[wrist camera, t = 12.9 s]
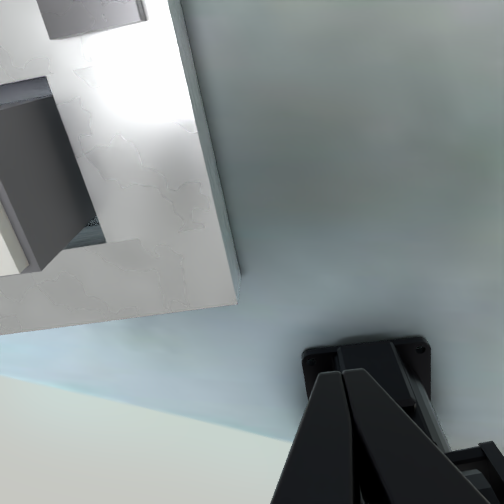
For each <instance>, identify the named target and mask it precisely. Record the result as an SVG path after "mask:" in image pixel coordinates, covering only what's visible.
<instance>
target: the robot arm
mask: <svg viewBox="0 0 504 504" xmlns="http://www.w3.org/2000/svg"><path fill="white" fill-rule="evenodd" d="M418 346H422V347H421V348H419V349H416V348H417V347H418ZM310 358H314V360H312V361H309V360H308V359H310ZM301 359H302V367H303V373H304V379H305V385H306V391H307V397H308V403H307V406H306V409H305V411H304V414H303V417H302V419H301V422H300V425H299V427H298V430H297V433H296V436H295V438H294V441H293V444H292V446H291V449H290V452H289V454H288V458H287V460H286V463H285V465H284V468H283V471H282V473H281V476H280V479H279V482H278V484H277V487H276V489H275V492H274V495H273V498H272V500H271V503H270V504H504V456H503V455H502V453H501V452H500V451H499V449H498V448H497V446H496V445H495V444H494V442H493V441H489V442H484V443H479V444H478V445H479V446H477V447H472V448H467V449H461V450H456V451H451V449H450V446H449V444H448V442H447V439H446V437H445V435H444V432H443V430H442V428H441V425H440V423H439V421H438V419H437V416H436V414H435V412H434V409H433V407H432V405H431V348H430V345H429V343H428V341H427V340H426V339H425V338H423V337H413V338H405V339H396V340H387V341H379V342H370V343H362V344H353V345H344V346H336V347H327V348H318V349H310V350H306V351H305V352H303V354H302V357H301Z"/></svg>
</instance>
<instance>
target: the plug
mask: <svg viewBox="0 0 504 504" xmlns="http://www.w3.org/2000/svg"><path fill="white" fill-rule="evenodd" d="M95 216H96V212H95V209H94V207H93V204H92V201H91V198H90V196H89V193H88V190H87V187H86V185H85V182H84V179H83V176H82V174H81V171H80V168H79V165H78V163H77V160H76V157H75V154H74V152H73V149H72V146H71V144H70V141H69V138H68V135H67V133H66V130H65V127H64V124H63V122H62V119H61V116H60V113H59V111H58V108H57V105H56V102H55V100H54V97H53V95H50V96H44V97H39V98H34V99H28V100H23V101H18V102H12V103H7V104H2V105H0V277H4V276H11V275H18V274H25V273H33V272H40V271H42V270H43V269H44V268H45V267H46V266H47V265H48V264H49V263H50V262H51V261H52V260H53V259H54V258H55V257H56V256H57V255H58V254H59V253H60V252H61V251H62V250H63V249H64V248H65V247H66V246H67V245H68V244H69V242H70V241H71V240H72V239H73V238H74V237H75V236H76V235H77V234H78V233H79V232H80V231H81V230H82V229H83V228H84V227H85V226H86V225H87V224H88V223H89V222H90V221H91V220H92V219H93V218H94V217H95Z"/></svg>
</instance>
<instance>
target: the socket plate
mask: <svg viewBox="0 0 504 504" xmlns="http://www.w3.org/2000/svg"><path fill="white" fill-rule="evenodd" d="M45 76H46V78H47V80H48V83H49V86H50V89H51V91H52V94H53V97H54V100H55V102H56V105H57V108H58V111H59V113H60V116H61V119H62V122H63V124H64V127H65V130H66V133H67V135H68V138H69V141H70V144H71V146H72V149H73V152H74V154H75V157H76V160H77V163H78V165H79V168H80V171H81V174H82V176H83V179H84V182H85V185H86V187H87V190H88V193H89V196H90V198H91V201H92V204H93V207H94V209H95V212H96V215H97V217H98V220H99V223H100V225H95V226H89V227H84V228H83V229H82V230H81V231H80V232H79V233H78V234H77V235H76V236H75V237H74V238H73V239H72V240H71V241H70V242H69V244H68V245H67V246H66V247H65V248H64V249H63V250H62V251H61V252H60V253H59V254H58V255H57V256H56V257H55V258H54V259H53V260H52V261H51V262H50V263H49V264H48V265H47V266H46V267H45V268H44V269H43V270H42V271H40V272H33V273H25V274H18V275H11V276H4V277H0V335H5V334H12V333H20V332H28V331H35V330H43V329H51V328H59V327H66V326H74V325H82V324H89V323H97V322H105V321H112V320H120V319H128V318H135V317H143V316H151V315H158V314H166V313H174V312H181V311H189V310H197V309H204V308H212V307H220V306H227V305H235V304H238V297H239V290H240V282H241V274H240V269H239V265H238V260H237V256H236V251H235V247H234V242H233V238H232V233H231V229H230V224H229V220H228V215H227V210H226V206H225V201H224V197H223V192H222V188H221V183H220V179H219V174H218V170H217V165H216V161H215V156H214V152H213V147H212V143H211V138H210V134H209V129H208V125H207V120H206V115H205V111H204V106H203V102H202V97H201V93H200V88H199V84H198V79H197V75H196V70H195V66H194V61H193V57H192V52H191V48H190V43H189V39H188V34H187V30H186V25H185V20H184V16H183V11H182V7H181V2H180V0H0V85H5V84H10V83H15V82H20V81H25V80H30V79H35V78H40V77H45Z"/></svg>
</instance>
